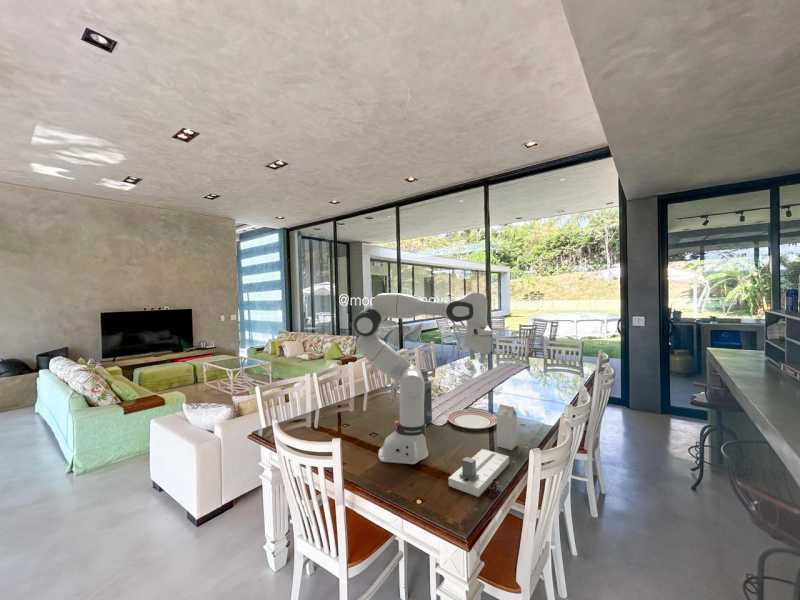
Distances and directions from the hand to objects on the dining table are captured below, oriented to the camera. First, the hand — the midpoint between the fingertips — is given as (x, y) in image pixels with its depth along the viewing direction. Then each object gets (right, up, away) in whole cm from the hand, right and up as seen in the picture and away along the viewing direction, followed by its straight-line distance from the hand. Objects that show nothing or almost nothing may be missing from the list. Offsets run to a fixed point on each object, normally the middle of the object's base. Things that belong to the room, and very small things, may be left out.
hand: (477, 361), depth 148 cm
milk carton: (+17, -42, +12) cm, 47 cm away
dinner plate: (+7, -43, +42) cm, 60 cm away
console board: (-2, -43, -13) cm, 44 cm away
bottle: (-20, -43, +47) cm, 67 cm away
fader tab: (-8, -39, -21) cm, 45 cm away
